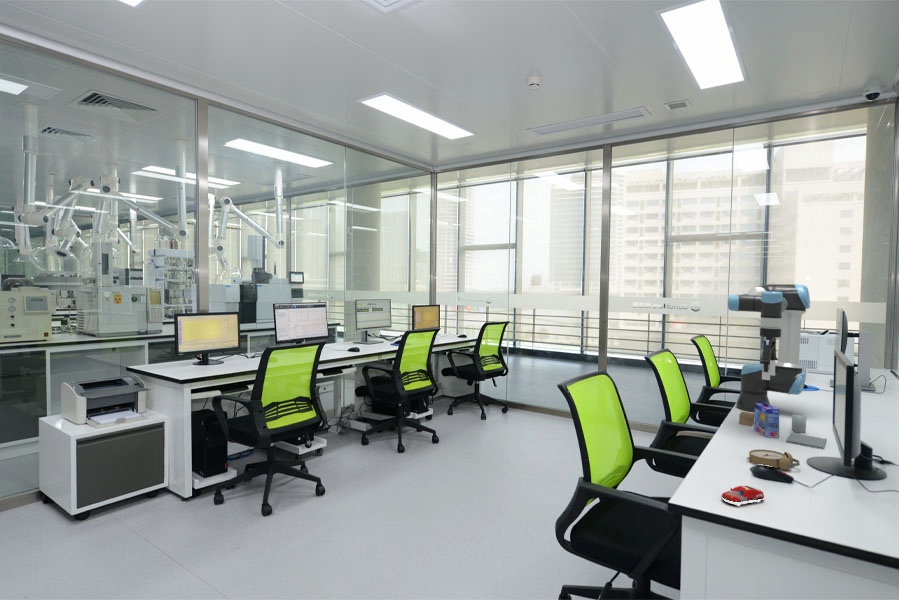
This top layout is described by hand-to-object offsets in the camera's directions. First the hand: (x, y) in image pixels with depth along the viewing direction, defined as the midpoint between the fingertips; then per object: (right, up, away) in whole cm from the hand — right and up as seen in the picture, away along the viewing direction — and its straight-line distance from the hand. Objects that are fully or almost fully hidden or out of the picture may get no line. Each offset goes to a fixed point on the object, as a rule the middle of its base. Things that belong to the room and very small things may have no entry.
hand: (768, 377), depth 203 cm
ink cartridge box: (0, -25, +1) cm, 25 cm away
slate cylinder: (+16, -25, +5) cm, 30 cm away
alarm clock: (-21, -26, -34) cm, 48 cm away
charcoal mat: (+10, -25, -8) cm, 28 cm away
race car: (-50, -26, -63) cm, 85 cm away
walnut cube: (0, -24, +15) cm, 28 cm away
